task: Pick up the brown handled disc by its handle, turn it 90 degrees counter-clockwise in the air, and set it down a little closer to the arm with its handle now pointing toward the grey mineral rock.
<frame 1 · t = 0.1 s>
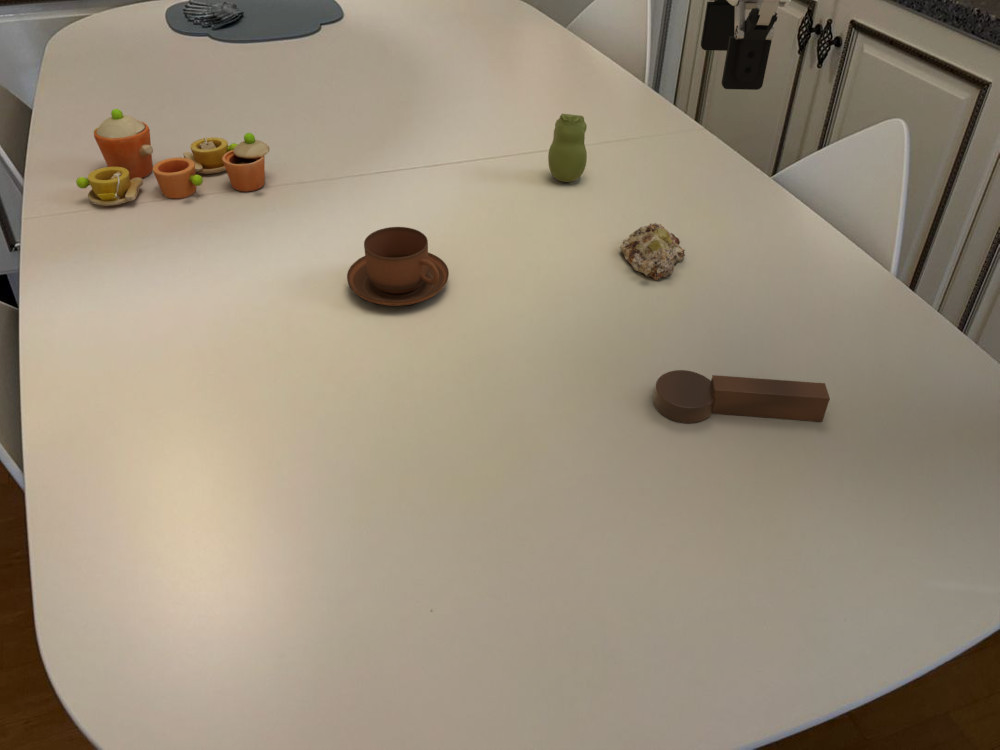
hand: (729, 67, 73), 31 cm above the table, tool pointing down, fingers open, 9 cm apart
cup and saucer: (399, 288, 103), on the table
toy tea set: (182, 181, 124), on the table
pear: (566, 181, 126), on the table
mineral rock: (651, 260, 108), on the table
brown handled disc: (683, 403, 86), on the table
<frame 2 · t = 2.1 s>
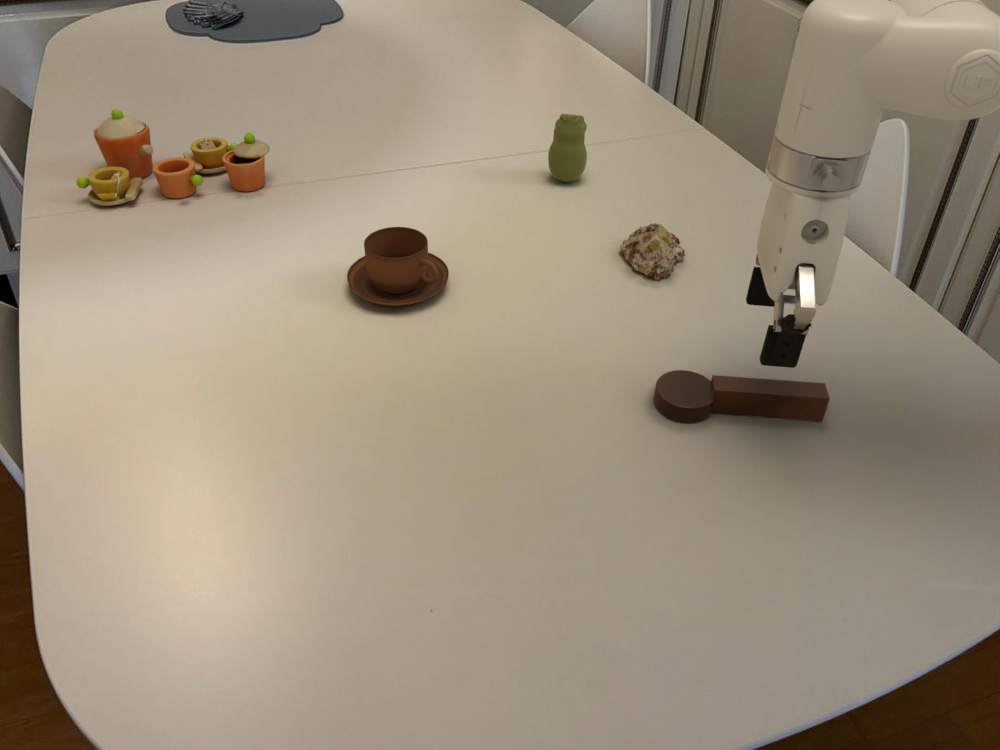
hand: (769, 333, 80), 9 cm above the table, tool pointing down, fingers open, 9 cm apart
nothing on the table moved.
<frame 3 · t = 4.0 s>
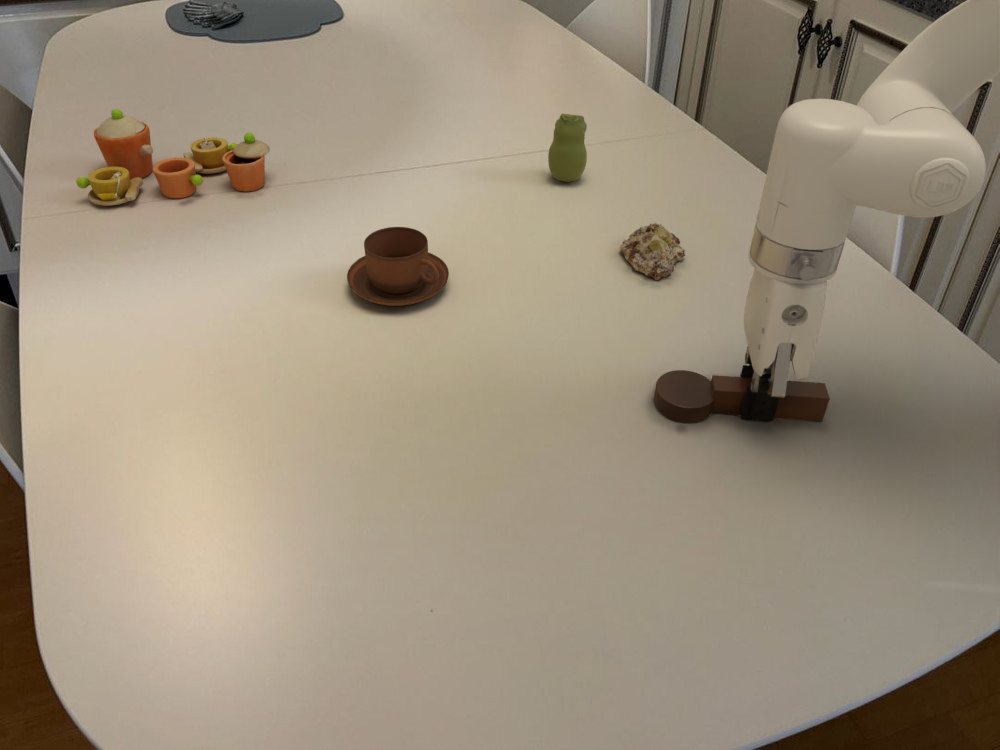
hand: (754, 407, 85), 0 cm above the table, tool pointing down, fingers closed on brown handled disc, 2 cm apart
brown handled disc: (683, 403, 86), on the table, touching gripper
everything else where it was.
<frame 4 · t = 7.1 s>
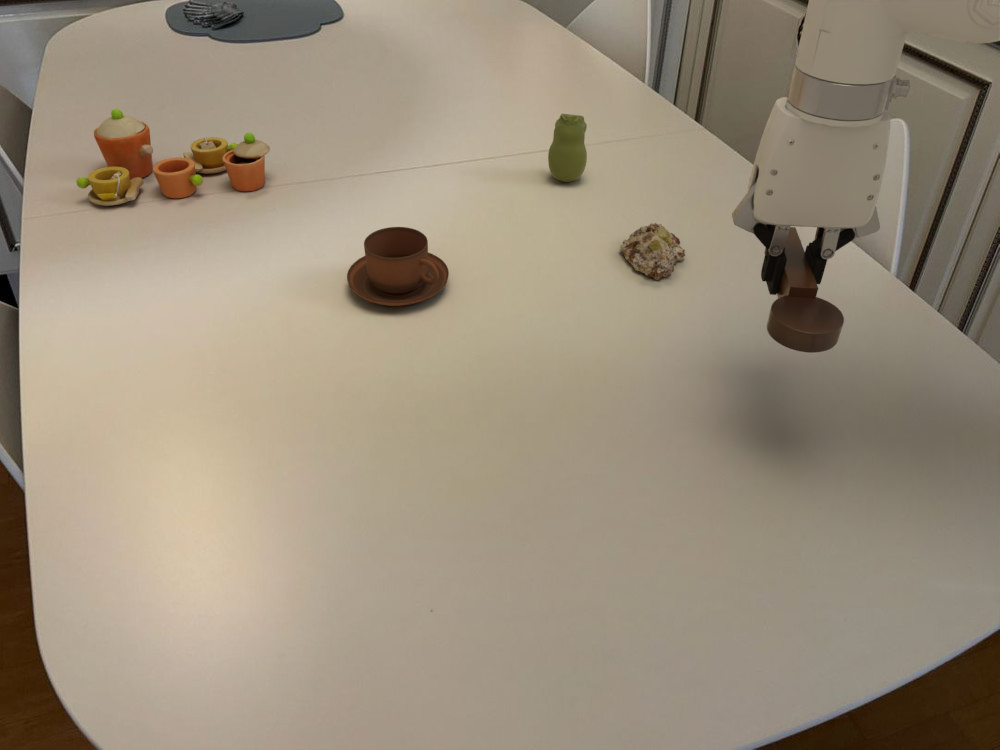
hand: (788, 286, 79), 13 cm above the table, tool pointing down, fingers closed on brown handled disc, 2 cm apart
brown handled disc: (802, 332, 74), point 13 cm above the table, touching gripper
everything else where it was.
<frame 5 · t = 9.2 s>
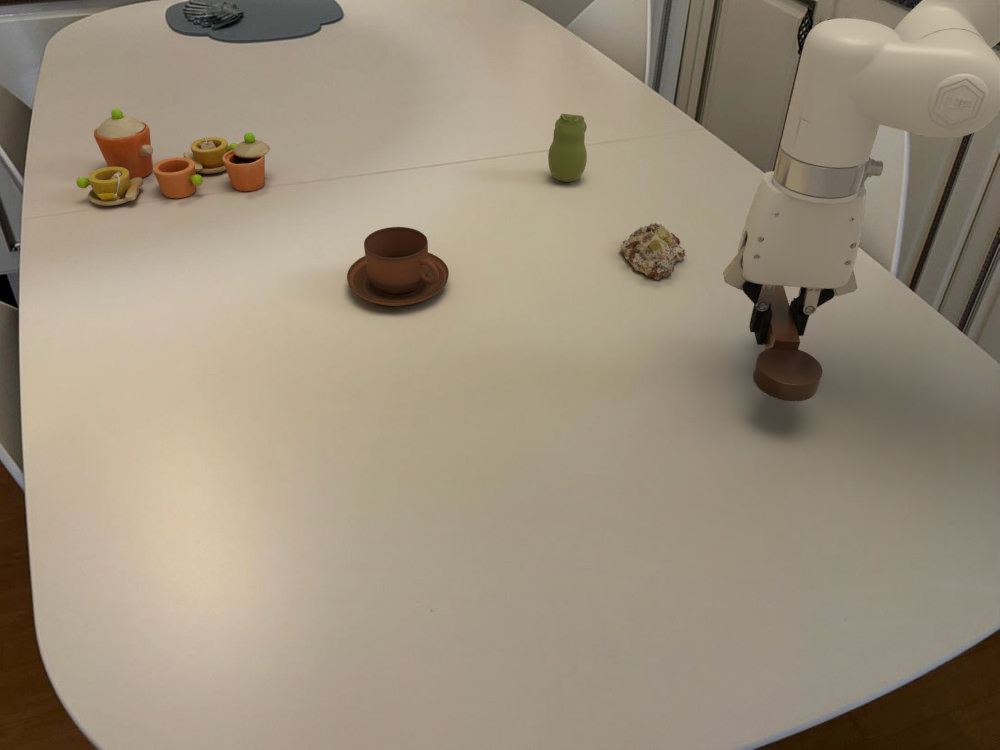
hand: (774, 336, 87), 5 cm above the table, tool pointing down, fingers closed on brown handled disc, 2 cm apart
brown handled disc: (784, 381, 82), point 5 cm above the table, touching gripper
everything else where it was.
when the fingers open (0 cm above the table, at t = 10.6 s): brown handled disc stays where it is, on the table.
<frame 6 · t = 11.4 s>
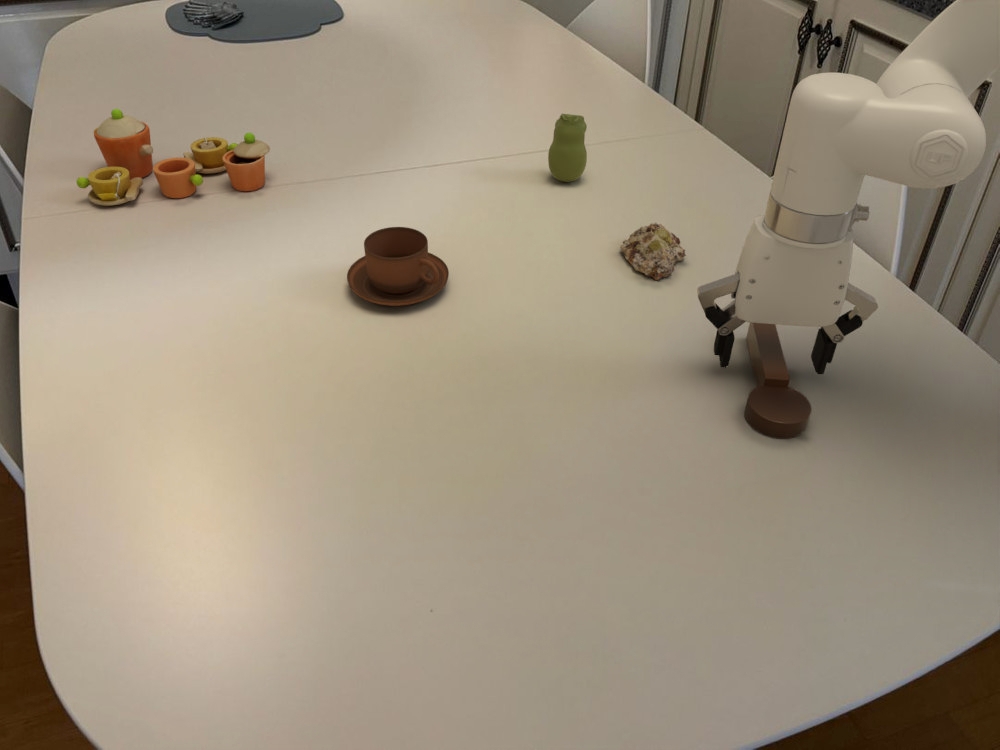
hand: (769, 362, 89), 2 cm above the table, tool pointing down, fingers open, 9 cm apart
brown handled disc: (775, 418, 84), on the table
everything else where it was.
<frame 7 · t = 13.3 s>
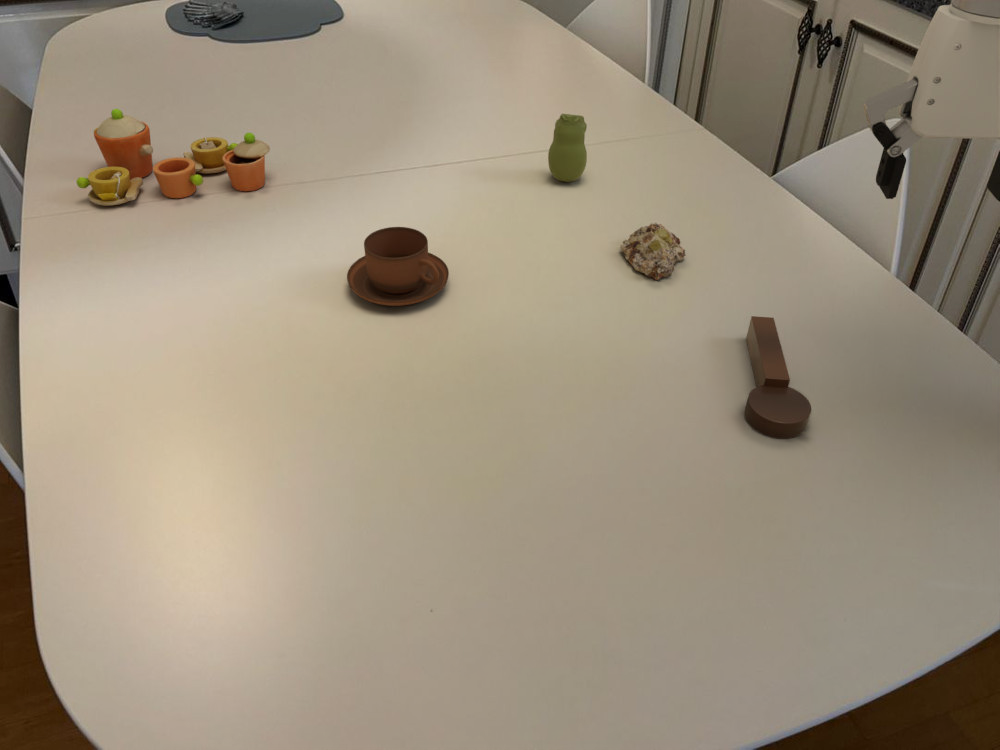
hand: (940, 193, 78), 21 cm above the table, tool pointing down, fingers open, 9 cm apart
nothing on the table moved.
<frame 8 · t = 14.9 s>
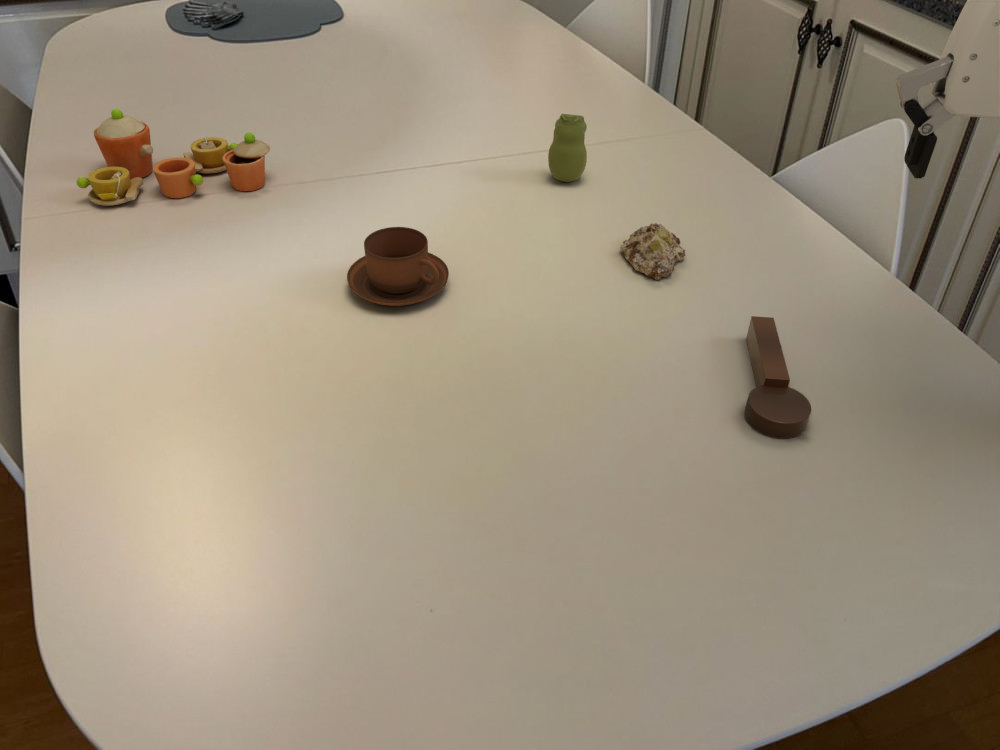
hand: (969, 175, 77), 22 cm above the table, tool pointing down, fingers open, 9 cm apart
nothing on the table moved.
at the end: brown handled disc 0.2 cm from the target spot on the table beside the mineral rock, on the table; brown handled disc tilted 0°; the gripper is holding nothing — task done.
